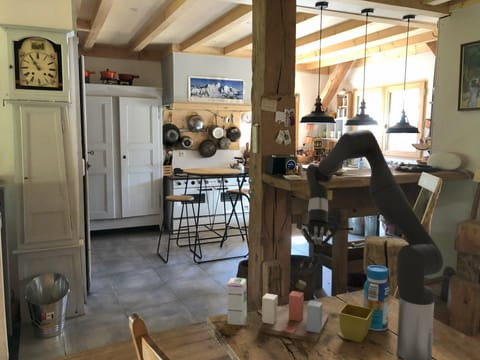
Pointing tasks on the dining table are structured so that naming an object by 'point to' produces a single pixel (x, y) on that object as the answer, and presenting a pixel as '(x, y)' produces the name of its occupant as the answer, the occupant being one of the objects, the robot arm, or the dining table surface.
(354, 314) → the flower pot
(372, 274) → the beverage bottle
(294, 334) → the brown wooden board
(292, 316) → the red rectangular block
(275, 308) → the cream rectangular block
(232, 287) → the syrup box
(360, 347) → the dining table surface
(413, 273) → the robot arm
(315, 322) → the grey rectangular block
